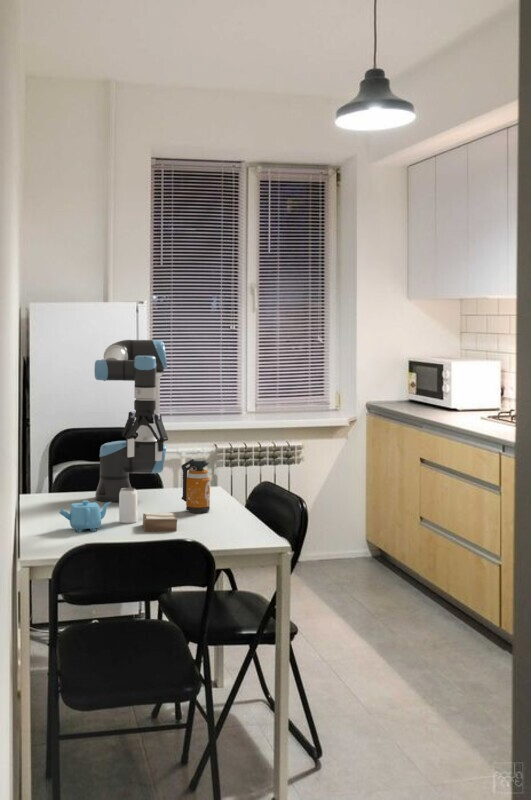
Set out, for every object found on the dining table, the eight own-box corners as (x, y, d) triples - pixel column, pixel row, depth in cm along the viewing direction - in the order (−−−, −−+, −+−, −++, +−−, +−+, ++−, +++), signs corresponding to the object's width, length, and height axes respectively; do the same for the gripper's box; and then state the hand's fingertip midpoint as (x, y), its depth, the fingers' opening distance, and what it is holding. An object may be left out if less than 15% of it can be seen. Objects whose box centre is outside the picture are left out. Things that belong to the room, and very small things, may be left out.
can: (131, 519, 330) (132, 486, 329) (140, 522, 325) (140, 489, 324) (115, 521, 326) (116, 488, 325) (124, 524, 321) (124, 491, 320)
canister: (206, 514, 340) (206, 461, 339) (177, 512, 342) (178, 460, 341) (212, 509, 349) (212, 458, 347) (184, 508, 351) (185, 457, 350)
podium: (142, 524, 321) (143, 512, 320) (173, 524, 323) (174, 512, 322) (144, 531, 310) (144, 519, 310) (176, 531, 312) (176, 518, 312)
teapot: (61, 535, 303) (61, 505, 302) (56, 526, 316) (56, 497, 315) (115, 531, 309) (115, 502, 308) (107, 523, 322) (107, 495, 322)
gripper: (112, 397, 324) (112, 456, 326) (163, 402, 309) (163, 463, 311) (127, 396, 330) (126, 454, 332) (178, 400, 315) (177, 461, 317)
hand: (144, 458), depth 321 cm, fingers open, 13 cm apart
